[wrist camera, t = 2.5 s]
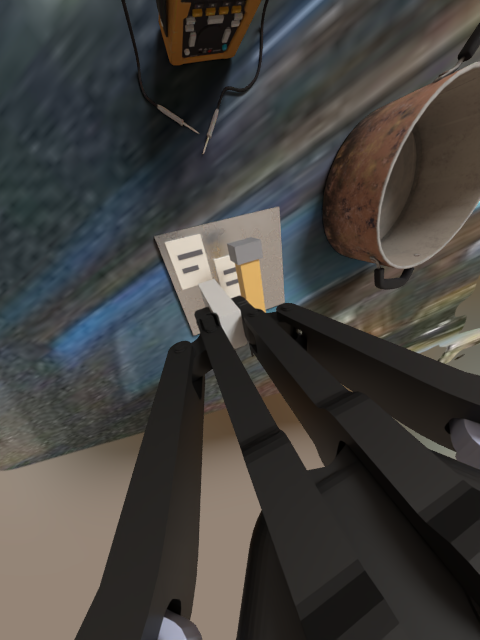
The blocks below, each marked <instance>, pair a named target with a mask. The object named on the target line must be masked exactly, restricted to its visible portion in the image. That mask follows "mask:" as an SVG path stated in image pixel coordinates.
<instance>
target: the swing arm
mask: <svg viewBox="0 0 480 640" xmlns="http://www.w3.org/2000/svg"><path fill="white" fill-rule="evenodd" d="M227 247H228V252H229V256H230V260H231V261H232V262H234V263H235V267H236V273H237V278H238V283H239V288H240V293H241V297H244V298H245V299H246V300H247V301H248V302H249V303H250V304H251V305H252V306H253V307H254V308H255V309H256V308H257V309H261V310H263V311H264V312H265V313H266V311H265V303H264V295H263V287H262V279H261V271H260V263H259V259H261V258H263V252H262V243H261V240H260V239H256V238H252V237H250V238H246V239H242V240H239V241H235V242H231V243H227ZM246 339H247V338H246ZM247 341H248V340H247ZM248 342H249V341H248Z"/></svg>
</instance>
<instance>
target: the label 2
mask: <svg viewBox="0 0 480 640" xmlns="http://www.w3.org/2000/svg"><path fill="white" fill-rule="evenodd" d="M214 263H215V267H216V271H217V275H218V279H219V283H220V286H221V288H222V289H223V290H224V291H225V292H226V294H227V295H228V296H229V297H230V298H233V297H236V296H239V295H241V293H240V288H239V283H238V278H237V273H236V267H235V263H234V262H232V261H231V260H230V256H225V257H222V258H218V259H215V260H214Z"/></svg>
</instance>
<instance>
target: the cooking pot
mask: <svg viewBox="0 0 480 640" xmlns="http://www.w3.org/2000/svg"><path fill="white" fill-rule="evenodd" d="M479 45H480V23H479V25H478V26H477V27H476V29H475V30H474V32H473V33H472V35H471V36H470V38H469V39H468V41H467V42H466V44H465V45H464V47H463V49H462V50H461V52H460V53H459V55H458V60H459V61H458V62H457V64H456V65H455V66H454V67H453V68H452V69H451V70H448V71H446V72H444V73H442V74H440V75H439V77H438V78H437V79H435V80H434V82H433V83H431V84H429V85H427V86H425V87H423V88H421V89H419V90H416V91H414V92H412V93H410V94H408V95H406V96H404V97H402V98H400V99H398V100H395V101H393V102H391V103H389V104H387V105H385V106H383V107H381V108H379V109H377V110H375V111H374V112H372V113H370V114H369V115H368V116H367V117H365V118H364V119H363V120H362V121H361V122H359V123H358V125H357V126H356V127H355V128H354V129H353V130H352V132H351V133H350V134H349V135H348V137H347V139H346V140H345V142H344V143H343V145H342V146H341V148H340V150H339V152H338V154H337V156H336V158H335V160H334V162H333V164H332V167H331V170H330V173H329V176H328V179H327V182H326V187H325V191H324V197H323V208H322V210H323V224H324V229H325V234H326V236H327V239H328V241H329V243H330V244H331V246H332V247H333V249H334V250H336V251H337V252H338V253H339V254H341V255H344V256H346V257H349V258H354V259H358V260H362V261H367V262H371V263H375V264H376V265H377V269H375V270H374V280H375V286H376V287H377V288H380V289H385V290H386V289H395V288H399V287H401V286H403V285H404V284H406V282H407V281H408V280H409V278H410V276H411V274H412V272H413V270H414V268H413V267H415V266H417V265H419V264H422V263H423V262H425V261H426V260H428V259H430V258H431V257H432V256H434V255H435V254H436V253H437V252H439V251H440V250H441V249H442V248H443V247H444V246H445V245H446V244H447V243H448V242H449V241H450V240H451V239H452V238H453V237H454V236H455V234H456V233H457V232H458V231H459V230H460V228H461V227H462V226H463V224H464V223H465V222H466V220H467V219H468V218H469V216H470V215H471V213H472V212H473V210H474V209H475V207H476V206H477V204H478V203H479V201H480V62H475V63H473V64H471V65H469V66H467V67H465V68H463V69H460V70H458V71H456V70H457V69H458V68H459V66H460V65H461V64H462V62H464V61H467V60H469V59H470V58H472V56H473V54H474V53H475V51H476V50H477V48H478V47H479ZM455 71H456V72H455ZM380 265H384V266H388V267H393V268H398V269H404V271H403V273H402V275H401V276H400V278H392V279H384V268H381V267H380Z"/></svg>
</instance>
